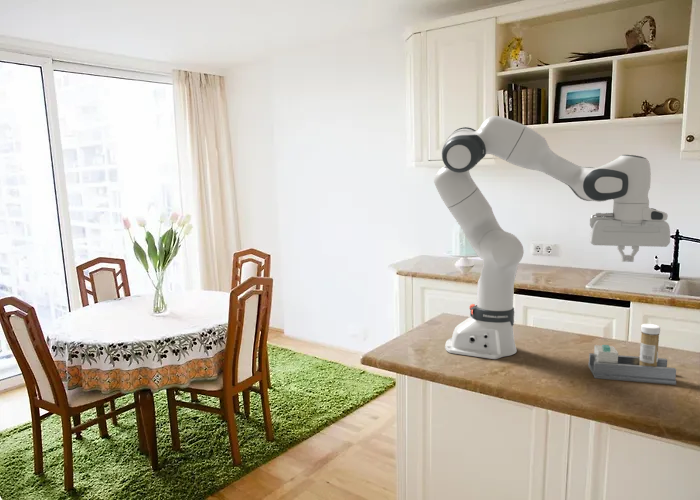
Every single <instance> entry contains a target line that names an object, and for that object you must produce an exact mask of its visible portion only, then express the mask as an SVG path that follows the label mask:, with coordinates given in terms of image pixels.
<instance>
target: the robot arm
mask: <svg viewBox="0 0 700 500" xmlns="http://www.w3.org/2000/svg"><path fill="white" fill-rule="evenodd" d="M487 155H492V156H495V157H498V158H499V159H502V160H503V161H506V162H507V163H509V164H512V165H514V166H516V167H520V168H522V169H527V170H533V171H538V172H540V173H544V174H546V175H548V176H550V177H552V178H554V179H555V180H558V181H560V182H561V183H563V184H564V185H566V186H568V187H569V188H570V190H571V191H572V192H573V193H574V194H575V196H576V197H577V198H579V199H581V200H583V201H585V202H600V203H601V202H606V201H610V200H612V201H613V205H612V207H613V208H612V212H606V213H605V212H603V213H601V212H596V213H595V214H592V215H591V217H589V218H590V219H589V226H590V231H589V232H590V233H589V243H590V244H591V245H593V246H606V247H607V246H610V247H611V246H613V247H617V248H616V249H617V250H618V252H619V254H620V257H621V258H620V261H621V262H622V263H625V262H626V263H627V262H628V263H629V262H630V263H633V262H634V261H635V256H636V255H637V253H638V252H639V251H640V247H651V248H652V247H654V248H655V247H661V248H662V247H663V248H665V247H668V246H670V243H671V228H670V224H669V223H668V222H667V219H668V213H667V212H664V211H661V210H658V209H656V208H650V200H649V199H650V198H649V193H650V192H649V191H650V189H651V176H652V175H651V164H650V162H649V160H648V158H646V157H644V156H642V155H641V156H639V155H634V154H631V155H630V154H622V155H619V156H618V157H617V158H615V159H614V160H612V161H609V162H607V163H605V164H603V165H599V166H598V167H597V166H596V167H592V166H581V165H579V164H575V163H574V162H572V161H570V160H568V159H566V158H564V157H562V156H561V155H559V154H557V153H555V152H554V151H553V150H552V149H551V148H550V146H549V144H548V141H547V140H546V138H545V137H544V136H542V135H541V134H540V133H538V132H537V131H535V130H534V129H532V128H530V127H528V126H527V125H525V124H523V123H520V122H518V121H516V120H512V119H509V118H506V117H502V116H499V115H491V116H489V117H487V118H486V119H485V120H484V121H483V122H482V123H481V124H480V126H479V128H478V129H477V130H476V129H474V128H472V127H469V126H467V127H465V126H463V127H460V128H457V129H456V130H454V131H453V132H452V133H451V134H450V135H449V136H448V137H447V138H446V140H445V143H444V145H443V147H442V151H441V159H442V162H443V164H444V165H443V166H442V167H441V168H439V170H437V171H436V173H435V175H434V177H433V183H434V185H435V188H436V191H437V192H438V194H439V196H440V198H441V200H442V202H443V203H444V204H445V206H446V207H447V210H449V212H450V214H451V215H452V217H454V219H455V221H456V222H457V223H458V225H459V226H460V228H461V229H462V232H463V234H464V236H465V237H466V239H467V241H468V242H469V244H470V246H471V247H472V249H473V251H474V252H475V254H476V255H477V256H478V258H480V259H481V260H482V268H481V271H480V275H479V279H478V281H477V296H476V299H477V300H476V302H477V303H476V305H475V303H471V304H470V305H469V311H470V313H469V315H470V316H469V317H467V318H466V319H465V320H463V321H462V322H460V323H459V324H457V325H456V326H455V328H454V329H453V332H452V335H451V336H452V337H449V338H448V339H447V340H446V342H445V343H444V344H445V345H444V349H445V350H446V352H448V353H450V354H456V355H463V356H469V357H478V358H484V359H492V360H499V359H500V358H503V357H509V356H512V355H514V354H516V353H517V352H518V351H517V346H516V341H515V335H514V324H515V308H514V290H515V289H514V286H515V279H516V275H517V272H518V267H519V263H520V262H521V261H522V259H523V258H524V257H523V256H524V251H525V250H524V246H523V244H522V242H521V241H520V240H519V238H518V237H517V236H516V235H515V234H513V233H511V232H508V231H506V230H504V228H502V227H501V226H500V224H499V222H498V220H497V218H496V216H495V214H494V212H493V208H492V206H491V205H490V203H489V202H488V200H487V198H486V197H485V195H484V194H483V193H482V191H481V190H480V188H479V187H478V185H477V184H476V182H475V181H474V180H473V177H472V176H471V174H470V173H471V172H470V170H472V169H473V168H474V167H476V165H477V164H478V163H479V162H481V160H482V159H484V158H485V156H487ZM626 247H631V250H632V251H631V252H630V254H625V252H624V251H625V248H626Z"/></svg>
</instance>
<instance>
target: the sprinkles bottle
mask: <svg viewBox="0 0 700 500" xmlns="http://www.w3.org/2000/svg"><path fill="white" fill-rule="evenodd" d="M640 328H641V329H640V333H641V337H640V345H639V346H640V349H639V357H640V364H639V365H642V366H655V367H657V362H658V358H659V341H660V340H659V339H660V334H661V327H660V325H657V324H653V323H642V324H641V326H640Z"/></svg>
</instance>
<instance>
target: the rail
mask: <svg viewBox="0 0 700 500" xmlns="http://www.w3.org/2000/svg"><path fill="white" fill-rule="evenodd" d="M593 348H594V351H593V353H591V352H590V353H589V355H588V364H587V365H588V366H587V367H588V368H589V370H590V372H591V373H592V376H593V378H594V379H600V380H611V381H612V380H613V381H614V380H615V381H627V382H636V383H650V384H660V385H663V384H664V385H672V386H673V385H675V386H677V380H676V377H677V369H676V367H668V359H667V358H665V357H664V358H663V357H662V358H661V357H658V362H657V367H655V366H642V365H639V364H640V356H633V355H622V354H621V355H619V352H618V351H617V349H616V347H614V345H609V344H602V345H601V344H600V345H599V344H594V347H593Z"/></svg>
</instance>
